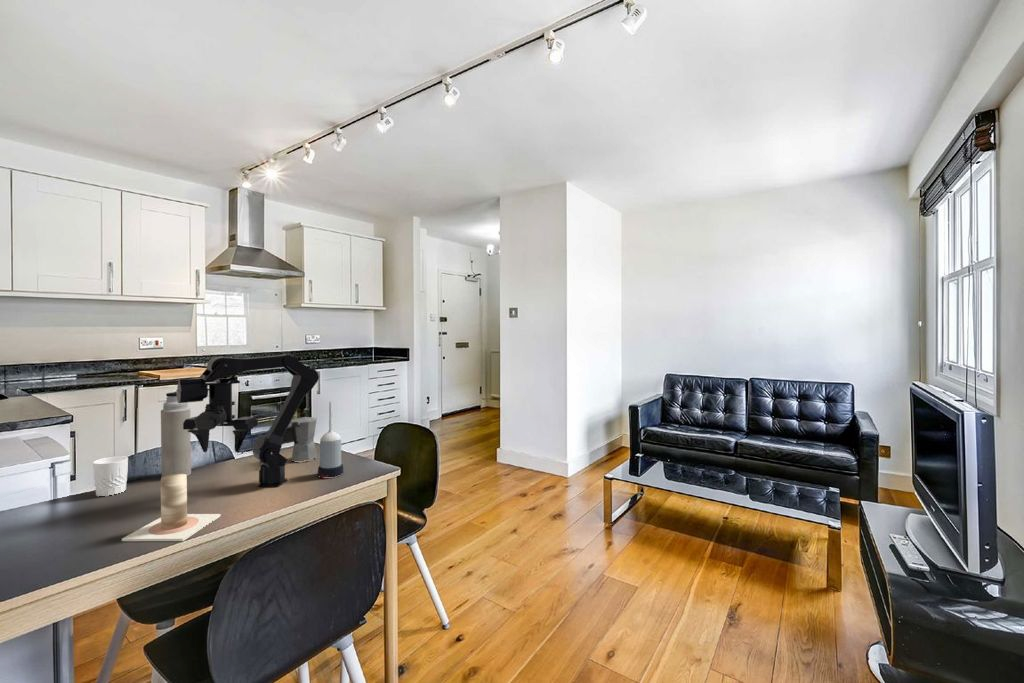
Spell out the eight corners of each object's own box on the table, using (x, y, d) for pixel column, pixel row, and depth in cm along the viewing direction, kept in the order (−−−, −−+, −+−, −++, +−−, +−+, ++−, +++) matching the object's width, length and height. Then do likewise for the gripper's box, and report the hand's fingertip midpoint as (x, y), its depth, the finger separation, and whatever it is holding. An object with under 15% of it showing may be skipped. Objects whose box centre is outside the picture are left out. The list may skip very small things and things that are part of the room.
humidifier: (319, 480, 148) (318, 404, 147) (316, 473, 155) (316, 400, 154) (345, 476, 152) (345, 402, 151) (341, 469, 159) (341, 399, 158)
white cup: (107, 488, 139) (107, 456, 138) (135, 487, 139) (134, 455, 139) (85, 498, 131) (85, 464, 131) (114, 497, 131) (114, 463, 131)
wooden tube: (189, 519, 115) (189, 472, 115) (184, 527, 111) (183, 479, 110) (164, 522, 113) (164, 475, 113) (158, 531, 108) (157, 481, 108)
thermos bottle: (184, 470, 157) (183, 390, 156) (195, 474, 153) (194, 392, 152) (157, 476, 150) (156, 392, 149) (167, 480, 146) (166, 394, 145)
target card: (220, 516, 119) (220, 513, 119) (182, 541, 105) (182, 538, 105) (166, 516, 119) (166, 513, 119) (121, 541, 105) (121, 538, 105)
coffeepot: (300, 454, 178) (299, 409, 177) (323, 454, 177) (323, 409, 177) (279, 466, 162) (279, 416, 162) (305, 466, 162) (305, 416, 162)
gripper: (168, 403, 125) (169, 459, 125) (236, 404, 125) (236, 459, 125) (195, 397, 136) (196, 449, 136) (258, 398, 136) (258, 449, 137)
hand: (221, 451), depth 133 cm, fingers open, 9 cm apart
